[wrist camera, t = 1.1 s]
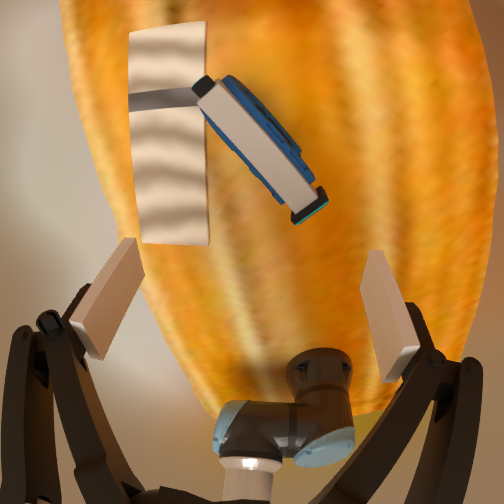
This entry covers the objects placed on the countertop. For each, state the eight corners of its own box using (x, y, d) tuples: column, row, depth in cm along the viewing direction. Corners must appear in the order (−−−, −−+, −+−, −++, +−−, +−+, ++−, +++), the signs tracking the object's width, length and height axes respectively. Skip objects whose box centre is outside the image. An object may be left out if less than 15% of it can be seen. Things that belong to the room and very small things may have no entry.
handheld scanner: (288, 180, 44) (298, 232, 27) (216, 100, 39) (175, 96, 22) (311, 162, 43) (339, 203, 25) (240, 80, 38) (216, 60, 20)
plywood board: (209, 242, 50) (208, 246, 49) (144, 239, 51) (142, 243, 50) (206, 22, 33) (204, 20, 32) (132, 34, 34) (129, 32, 33)
